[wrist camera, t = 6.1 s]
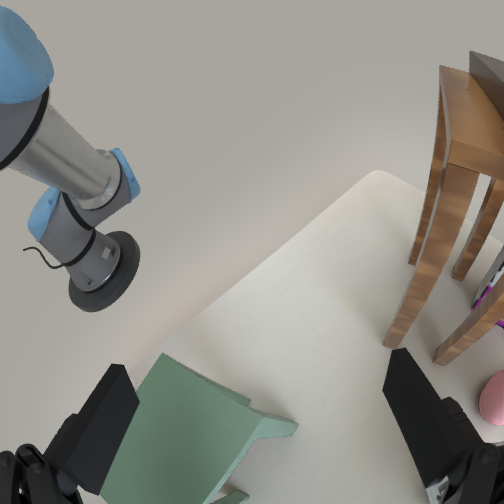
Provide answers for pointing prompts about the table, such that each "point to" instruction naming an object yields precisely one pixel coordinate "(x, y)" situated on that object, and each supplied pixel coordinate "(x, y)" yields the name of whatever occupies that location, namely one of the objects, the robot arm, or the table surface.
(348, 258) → the table surface
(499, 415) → the pink vase
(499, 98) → the walnut slat
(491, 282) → the candy bar box
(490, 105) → the high stand
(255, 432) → the low stool
